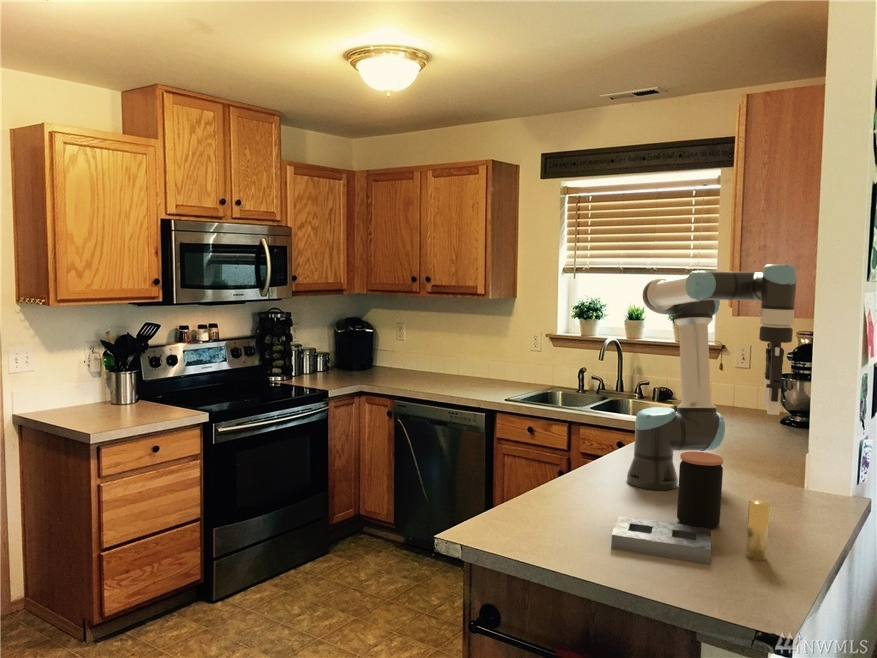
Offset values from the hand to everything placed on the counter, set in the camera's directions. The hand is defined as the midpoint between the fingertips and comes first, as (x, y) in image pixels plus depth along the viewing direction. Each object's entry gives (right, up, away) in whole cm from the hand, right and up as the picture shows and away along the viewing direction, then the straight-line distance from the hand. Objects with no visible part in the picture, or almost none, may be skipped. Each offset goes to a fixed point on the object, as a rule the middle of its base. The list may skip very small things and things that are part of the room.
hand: (771, 409), depth 182 cm
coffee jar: (-16, -31, +7) cm, 36 cm away
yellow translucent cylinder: (-10, -33, -14) cm, 37 cm away
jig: (-31, -32, -9) cm, 45 cm away
